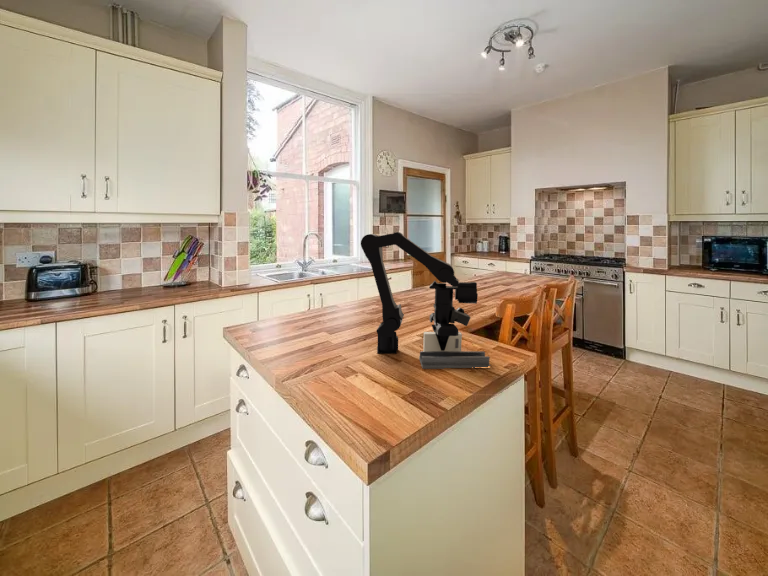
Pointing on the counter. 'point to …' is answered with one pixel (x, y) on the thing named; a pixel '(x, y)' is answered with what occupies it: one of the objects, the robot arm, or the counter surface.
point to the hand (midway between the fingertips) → (442, 349)
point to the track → (453, 359)
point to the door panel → (433, 344)
